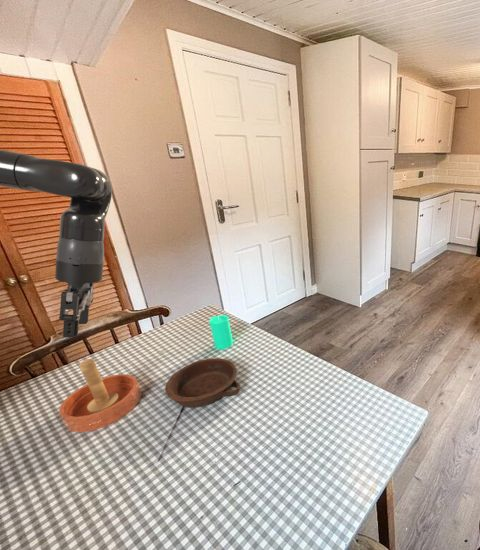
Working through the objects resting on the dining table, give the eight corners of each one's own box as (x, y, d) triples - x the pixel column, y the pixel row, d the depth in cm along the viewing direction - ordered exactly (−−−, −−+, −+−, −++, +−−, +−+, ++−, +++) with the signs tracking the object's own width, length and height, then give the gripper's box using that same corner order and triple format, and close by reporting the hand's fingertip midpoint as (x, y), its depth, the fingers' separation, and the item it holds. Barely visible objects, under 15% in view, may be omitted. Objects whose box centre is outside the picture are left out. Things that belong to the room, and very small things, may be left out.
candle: (211, 348, 105) (204, 318, 101) (221, 338, 111) (215, 310, 106) (226, 350, 104) (220, 320, 100) (236, 340, 110) (230, 311, 105)
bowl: (50, 439, 72) (41, 424, 70) (91, 392, 86) (85, 378, 84) (123, 428, 75) (117, 413, 73) (152, 384, 89) (147, 371, 87)
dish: (219, 421, 77) (215, 406, 75) (147, 407, 81) (141, 393, 79) (256, 375, 92) (254, 362, 90) (194, 365, 97) (191, 353, 95)
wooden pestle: (83, 418, 77) (62, 372, 71) (99, 399, 83) (80, 356, 77) (112, 414, 78) (93, 369, 72) (125, 396, 84) (108, 353, 78)
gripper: (67, 252, 70) (63, 319, 72) (44, 262, 58) (40, 342, 60) (109, 256, 74) (104, 320, 76) (95, 266, 62) (90, 341, 64)
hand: (76, 330), depth 68 cm, fingers open, 8 cm apart
